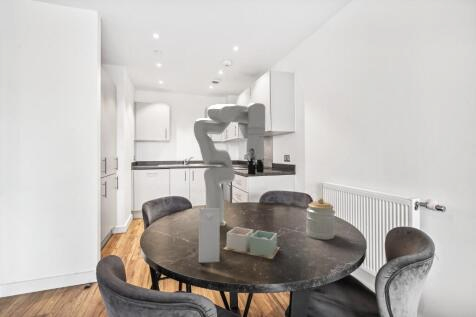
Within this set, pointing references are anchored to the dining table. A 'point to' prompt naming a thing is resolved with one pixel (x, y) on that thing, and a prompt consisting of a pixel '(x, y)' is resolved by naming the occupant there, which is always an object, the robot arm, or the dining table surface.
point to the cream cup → (239, 238)
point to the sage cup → (263, 243)
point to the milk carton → (209, 234)
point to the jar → (320, 220)
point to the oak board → (253, 253)
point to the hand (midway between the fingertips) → (256, 173)
